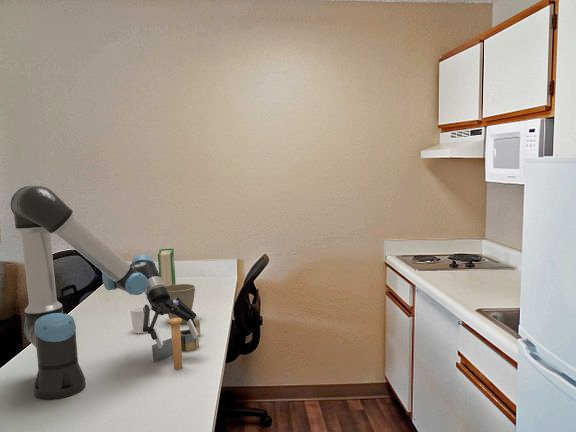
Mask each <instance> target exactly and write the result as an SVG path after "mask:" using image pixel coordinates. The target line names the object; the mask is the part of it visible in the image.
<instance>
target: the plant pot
mask: <svg viewBox="0 0 576 432" xmlns="http://www.w3.org/2000/svg"><path fill="white" fill-rule="evenodd" d="M165 288H166V289H167V291H168V293H169V295H170V299H171V300H175V299H176V298H177V297H178V298H180V300H181V301H182V302H183V303H184V304H185V305H186V306H187V307H188V308H190V309H191V310H192V311H193V307H194V300H195V293H196V292H195V291H196V286H195V285H194V284H191V283H190V284H189V283H178V284H177V283H176V284H175V285H169V286H165ZM173 305H175V304H173ZM176 307H177V306H176ZM177 308H178V307H177ZM178 309H179V308H178ZM172 310H173V308H172ZM167 316H168V318H169V319H171V318H180V317H178V316H177V315H175V314H171V313H169V314H167ZM181 319H182V318H181ZM184 324H187V321H186V320H184V319H182V322H181V323H180V325H184Z"/></svg>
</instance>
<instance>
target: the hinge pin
mask: <svg viewBox="0 0 576 432" xmlns="http://www.w3.org/2000/svg"><path fill="white" fill-rule="evenodd" d="M181 322H182V319H181V318H171V319H170V318H169V319H168V324H169V325H170V331H171V332H170V333H171V338H172V349H173V355H172V359H173V360H172V361H173V362H172V363H173V369H174V370H181V369H182V368H183V367H184V366H183V353H182V352H183V351H182V350H181V334H180V331H181V324H180V323H181Z"/></svg>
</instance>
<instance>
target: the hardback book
mask: <svg viewBox="0 0 576 432" xmlns="http://www.w3.org/2000/svg"><path fill="white" fill-rule="evenodd" d="M174 253H175V250H174V248H160V249H159V251H158V253H157V262H158V273H159V275H160V277H161V279H162V281H163V283H164V285H165V286H169V285H175V284H177V283H176V270H175V267H176V266H175V254H174Z"/></svg>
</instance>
